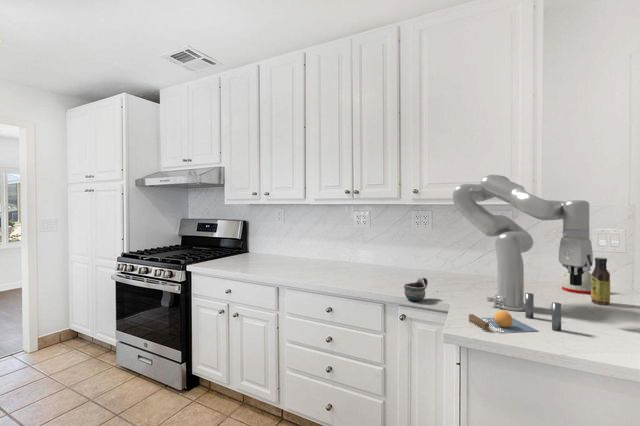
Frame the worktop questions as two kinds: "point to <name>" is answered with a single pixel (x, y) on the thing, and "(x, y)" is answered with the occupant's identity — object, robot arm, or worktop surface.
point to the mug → (416, 289)
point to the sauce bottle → (600, 282)
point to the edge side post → (556, 316)
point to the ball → (503, 319)
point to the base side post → (529, 305)
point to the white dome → (582, 289)
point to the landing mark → (512, 326)
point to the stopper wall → (478, 322)
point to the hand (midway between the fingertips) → (575, 285)
